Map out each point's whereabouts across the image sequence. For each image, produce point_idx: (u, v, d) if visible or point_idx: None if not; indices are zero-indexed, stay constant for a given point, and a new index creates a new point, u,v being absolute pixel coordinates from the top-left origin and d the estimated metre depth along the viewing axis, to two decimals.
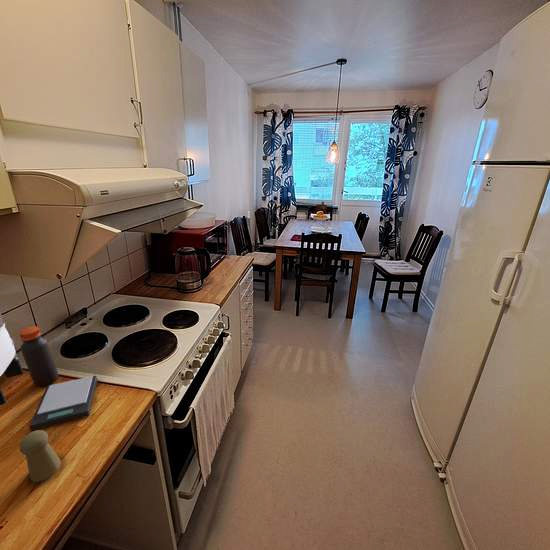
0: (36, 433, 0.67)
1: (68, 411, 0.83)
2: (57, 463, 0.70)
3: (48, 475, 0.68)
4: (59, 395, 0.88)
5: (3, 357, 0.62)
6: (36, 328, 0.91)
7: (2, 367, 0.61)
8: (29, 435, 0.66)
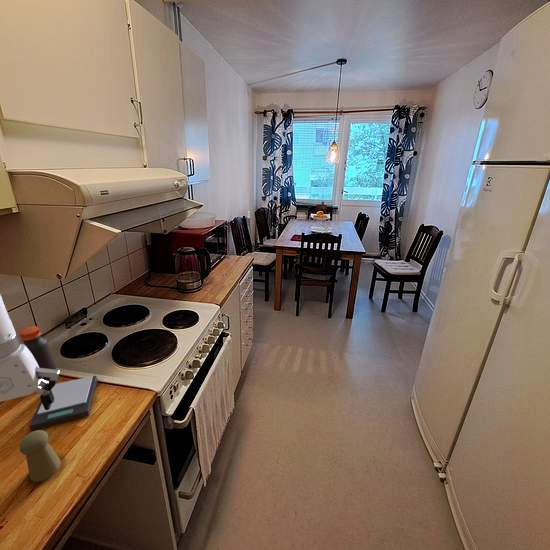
0: (36, 433, 0.67)
1: (68, 411, 0.83)
2: (57, 463, 0.70)
3: (48, 475, 0.68)
4: (59, 395, 0.88)
5: None
6: (36, 328, 0.91)
7: None
8: (29, 435, 0.66)
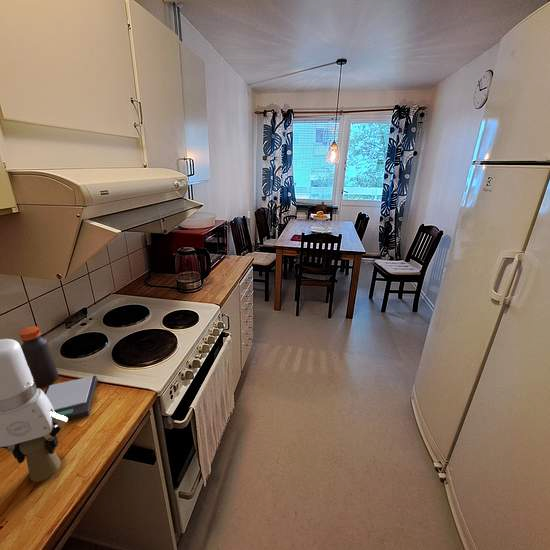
0: None
1: (68, 411, 0.83)
2: (57, 463, 0.70)
3: (48, 475, 0.68)
4: (59, 395, 0.88)
5: None
6: (36, 328, 0.91)
7: None
8: None
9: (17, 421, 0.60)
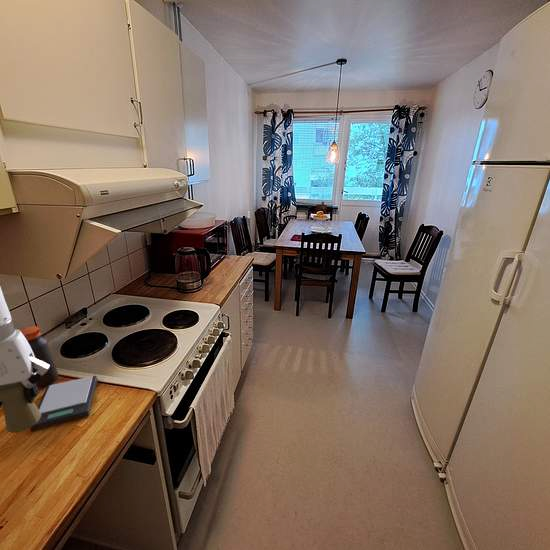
0: None
1: (68, 411, 0.83)
2: (37, 415, 0.65)
3: (26, 427, 0.63)
4: (59, 395, 0.88)
5: None
6: (36, 328, 0.91)
7: None
8: None
9: None
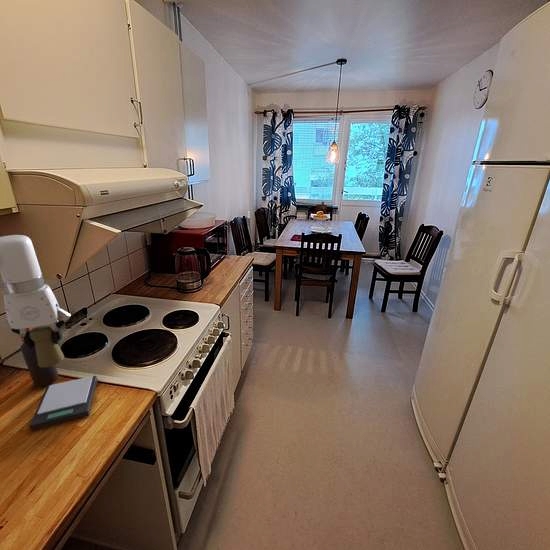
0: None
1: (68, 411, 0.83)
2: (61, 355, 0.81)
3: (53, 363, 0.79)
4: (59, 395, 0.88)
5: None
6: None
7: None
8: (38, 326, 0.78)
9: (28, 306, 0.72)
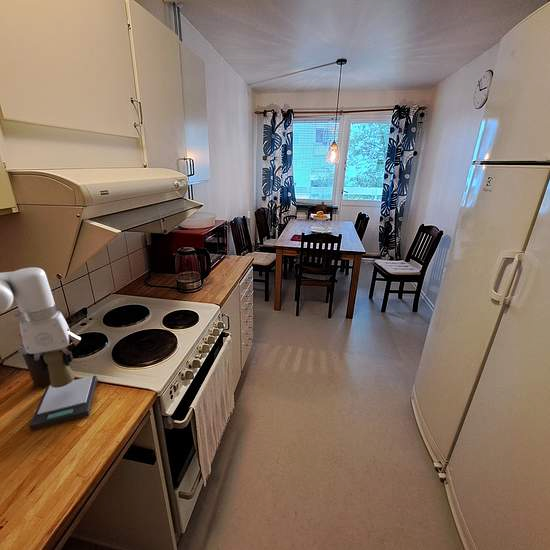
0: None
1: (68, 411, 0.83)
2: (72, 376, 0.87)
3: (65, 383, 0.85)
4: (59, 395, 0.88)
5: None
6: None
7: None
8: None
9: (42, 332, 0.78)
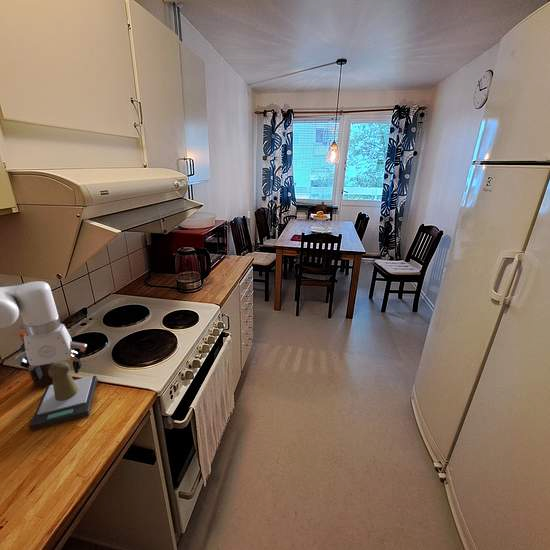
0: (60, 363, 0.86)
1: (68, 411, 0.83)
2: (76, 389, 0.89)
3: (69, 396, 0.87)
4: None
5: None
6: None
7: None
8: (55, 364, 0.85)
9: (46, 345, 0.79)
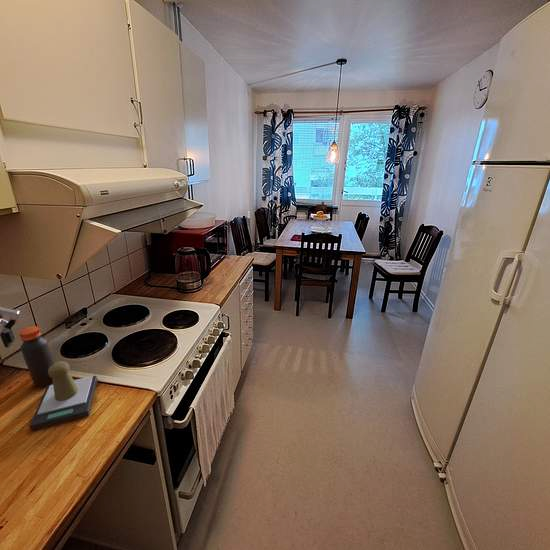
0: (60, 363, 0.86)
1: (68, 411, 0.83)
2: (76, 389, 0.89)
3: (69, 396, 0.87)
4: None
5: None
6: (36, 328, 0.91)
7: None
8: (55, 364, 0.85)
9: None
